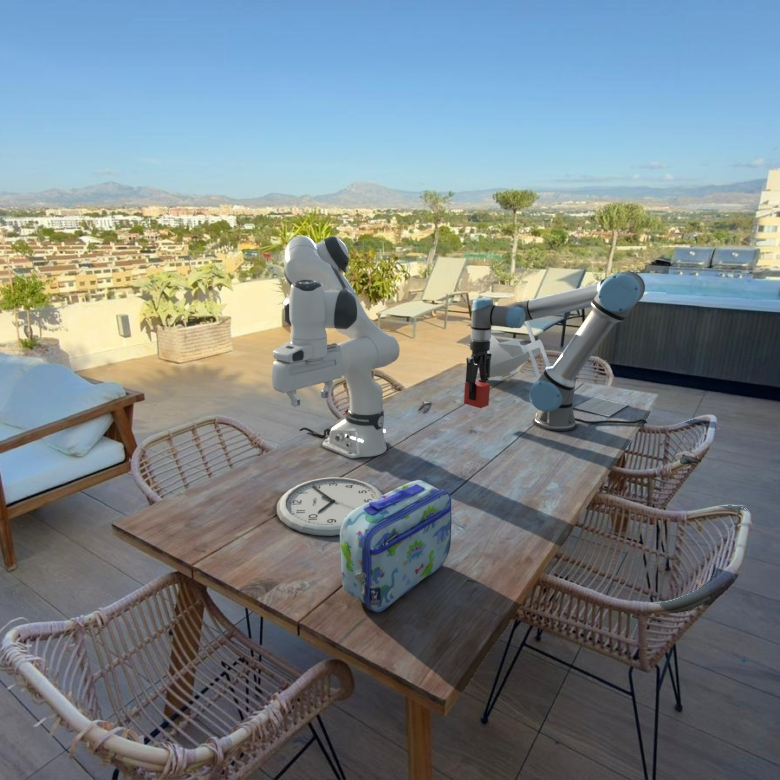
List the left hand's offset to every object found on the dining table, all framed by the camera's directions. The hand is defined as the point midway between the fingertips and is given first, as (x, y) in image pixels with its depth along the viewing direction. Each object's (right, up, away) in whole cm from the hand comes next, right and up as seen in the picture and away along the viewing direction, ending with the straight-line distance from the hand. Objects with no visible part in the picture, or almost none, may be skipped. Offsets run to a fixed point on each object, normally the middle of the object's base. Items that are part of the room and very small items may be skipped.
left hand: (310, 401), depth 132 cm
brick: (+54, -3, +74) cm, 92 cm away
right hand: (+54, 0, +73) cm, 91 cm away
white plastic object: (+78, +5, +122) cm, 145 cm away
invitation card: (+112, -4, +94) cm, 146 cm away
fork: (+35, -4, +91) cm, 97 cm away
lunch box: (+22, -39, -20) cm, 49 cm away
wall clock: (+4, -29, +11) cm, 31 cm away
